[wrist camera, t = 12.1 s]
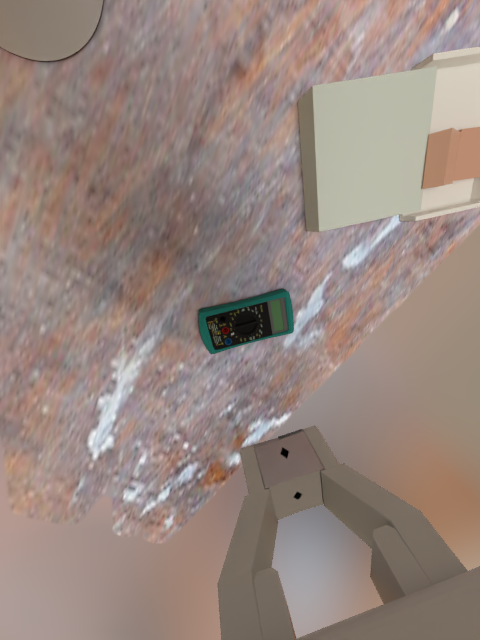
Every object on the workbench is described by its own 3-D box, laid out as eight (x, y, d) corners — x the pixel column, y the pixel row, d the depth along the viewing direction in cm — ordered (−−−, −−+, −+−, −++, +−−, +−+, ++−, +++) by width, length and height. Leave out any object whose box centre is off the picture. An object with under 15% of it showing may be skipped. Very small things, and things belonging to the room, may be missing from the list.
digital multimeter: (194, 309, 38) (194, 316, 35) (285, 286, 39) (291, 291, 36) (206, 348, 41) (207, 358, 38) (289, 326, 42) (296, 334, 39)
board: (297, 102, 29) (312, 85, 26) (408, 84, 31) (437, 66, 27) (306, 230, 36) (319, 232, 32) (398, 211, 37) (420, 209, 33)
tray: (411, 68, 30) (433, 53, 28) (497, 55, 31) (526, 39, 29) (399, 221, 38) (415, 221, 35) (468, 205, 39) (489, 204, 36)
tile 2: (428, 134, 30) (452, 127, 28) (439, 137, 33) (461, 132, 32) (422, 189, 32) (443, 185, 30) (433, 186, 36) (452, 183, 34)
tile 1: (501, 123, 32) (483, 129, 34) (461, 129, 31) (445, 134, 33) (489, 175, 35) (472, 177, 37) (452, 181, 34) (437, 183, 36)
